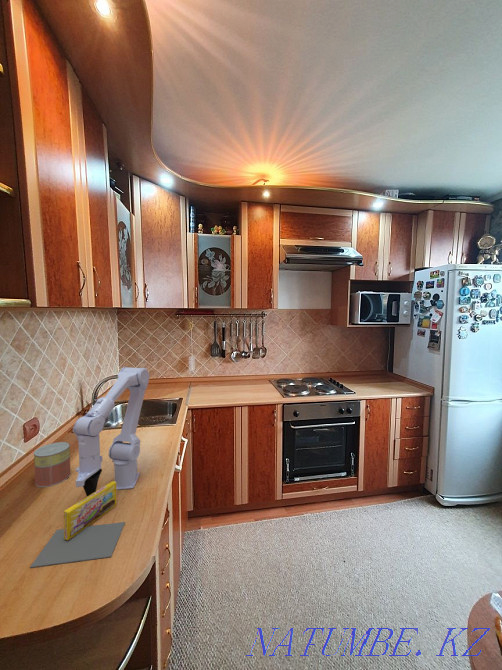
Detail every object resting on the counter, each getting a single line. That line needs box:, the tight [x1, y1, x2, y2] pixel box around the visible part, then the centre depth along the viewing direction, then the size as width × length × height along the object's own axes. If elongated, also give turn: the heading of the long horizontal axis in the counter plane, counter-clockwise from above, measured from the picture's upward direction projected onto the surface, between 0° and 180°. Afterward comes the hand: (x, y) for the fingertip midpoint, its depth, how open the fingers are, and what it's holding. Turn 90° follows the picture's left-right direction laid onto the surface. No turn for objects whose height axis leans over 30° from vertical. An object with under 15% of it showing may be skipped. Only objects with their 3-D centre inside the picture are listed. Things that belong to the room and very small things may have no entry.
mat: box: [29, 521, 126, 569], centre depth 74 cm, size 12×19×1 cm, turn 99°
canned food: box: [33, 441, 72, 488], centre depth 104 cm, size 11×11×12 cm
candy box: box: [63, 480, 117, 540], centre depth 82 cm, size 16×2×8 cm, turn 158°
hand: (91, 494), depth 85 cm, fingers closed
